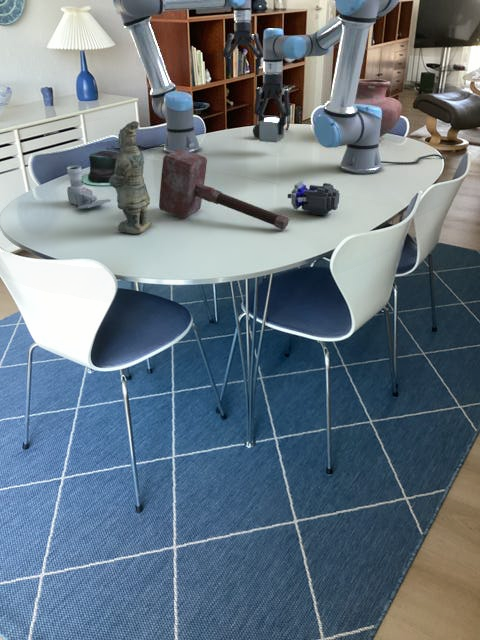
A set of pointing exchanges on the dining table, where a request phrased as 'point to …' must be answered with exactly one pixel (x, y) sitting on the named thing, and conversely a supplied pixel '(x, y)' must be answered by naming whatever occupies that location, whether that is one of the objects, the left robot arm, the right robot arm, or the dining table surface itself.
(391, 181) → the dining table surface
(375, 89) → the clay pot
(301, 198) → the toy
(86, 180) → the green top hat
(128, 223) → the statue
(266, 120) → the metal block
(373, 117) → the right robot arm
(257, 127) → the figurine
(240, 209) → the sledgehammer
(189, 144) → the left robot arm
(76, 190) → the grey piece
